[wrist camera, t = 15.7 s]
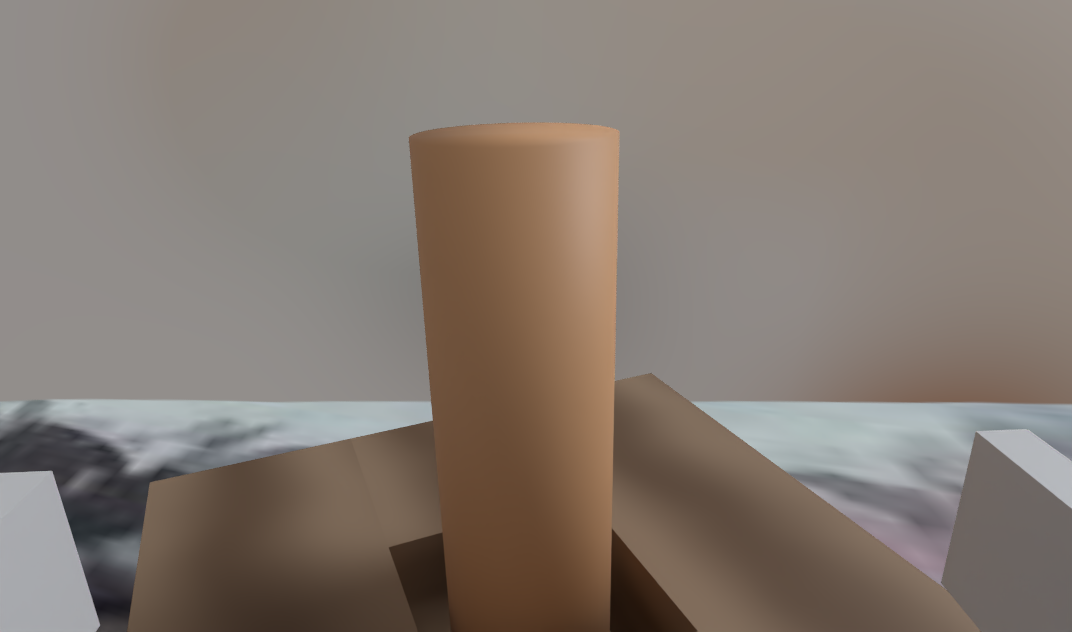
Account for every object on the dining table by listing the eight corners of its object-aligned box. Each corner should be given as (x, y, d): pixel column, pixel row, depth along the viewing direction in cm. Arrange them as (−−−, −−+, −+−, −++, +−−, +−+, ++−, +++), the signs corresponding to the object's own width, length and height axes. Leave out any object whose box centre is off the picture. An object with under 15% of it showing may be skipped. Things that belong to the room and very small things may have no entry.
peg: (568, 619, 23) (564, 118, 18) (636, 729, 19) (660, 137, 14) (439, 664, 22) (388, 130, 16) (486, 794, 18) (442, 154, 12)
